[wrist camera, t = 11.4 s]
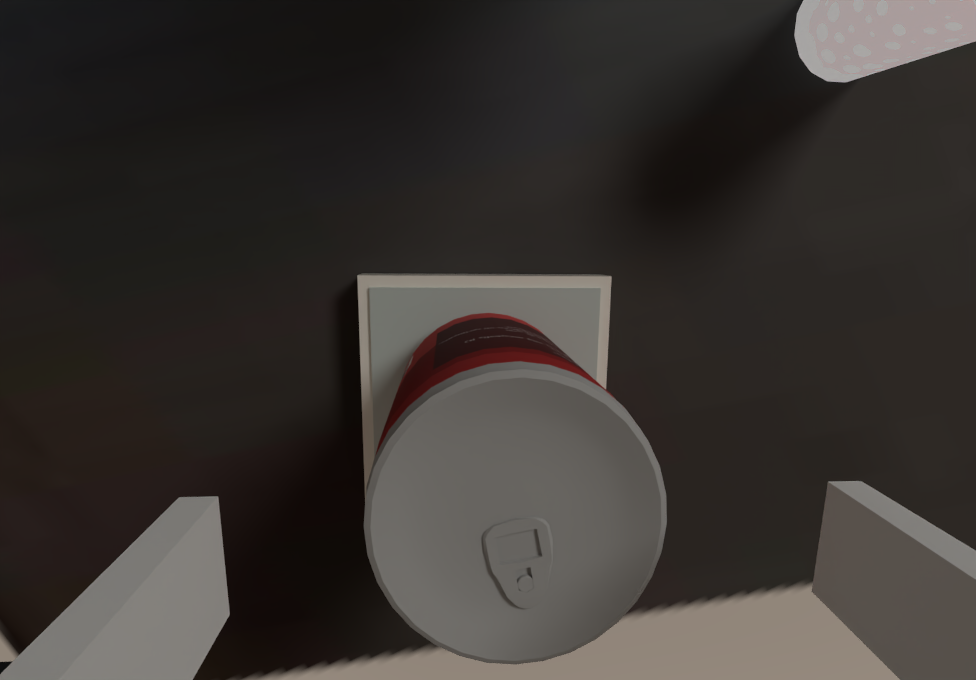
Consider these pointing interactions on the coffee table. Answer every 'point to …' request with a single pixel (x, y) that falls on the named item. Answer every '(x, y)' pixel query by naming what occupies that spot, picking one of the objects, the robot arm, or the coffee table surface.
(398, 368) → the tray
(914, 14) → the beverage cup
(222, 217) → the coffee table surface
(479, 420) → the canned food
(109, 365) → the coffee table surface
